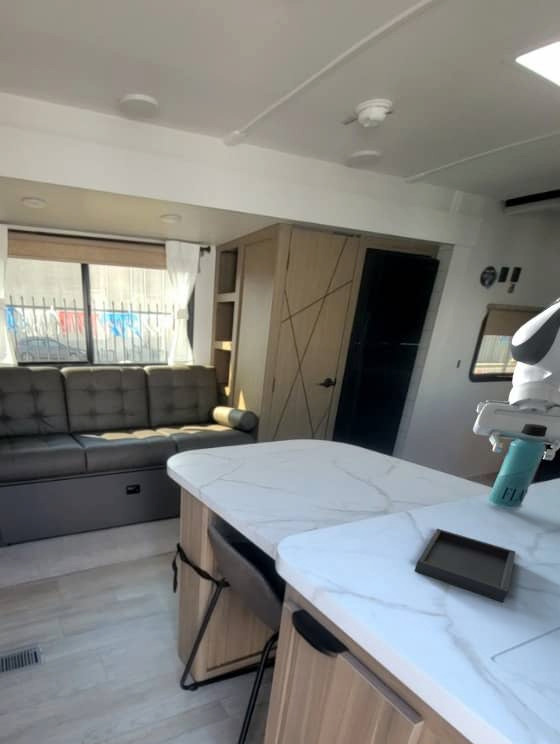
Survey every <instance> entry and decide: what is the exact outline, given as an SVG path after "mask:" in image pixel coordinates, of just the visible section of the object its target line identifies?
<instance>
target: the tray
mask: <svg viewBox="0 0 560 744" xmlns="http://www.w3.org/2000/svg"><path fill="white" fill-rule="evenodd" d="M515 557H516V551H515V550H512V549H509V548H505V547H502V546H500V545H499V546H498V545H495V544H491V543H488V542H484V541H481V540H478V539H475V538H471V537H468V536H464V535H461V534H458V533H454V532H452V531H448V530H445V529H440V528H436V530H435V532H434V533H433V535H432V537H431V538H430V540H429V542H428V543H427V545H426V546H425V548H424V550H423V552H422V553H421V555H420V557H419V558H418V560H417V562H416V565H415V567H414V572H416V573H419V574H422V575H425V576H428V577H430V578H433V579H435V580H439V581H441V582H444V583H447V584H450V585H453V586H455V587H458V588H461V589H464V590H467V591H469V592H472V593H475V594H477V595H481V596H484V597H486V598H489V599H491V600H495V601H498V602H500V603H504V601H505V599H506V597H507V595H508V593H509V589H510V584H511V579H512V574H513V573H512V572H513V567H514V562H515Z"/></svg>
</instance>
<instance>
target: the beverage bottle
mask: <svg viewBox="0 0 560 744" xmlns="http://www.w3.org/2000/svg"><path fill="white" fill-rule="evenodd" d="M546 431H547V427H546V426H542V425H537V424H525V426H524V428H523V430H522V431H521V433H522V434H525V435H530V436H537V437H544V436H545V434H546ZM546 450H547V447H546V444H543V443H542V442H541V441H538V440H534V439H529V438H519V439H516V440H514V439H513V440H512V441H510V444H509V448H508V450H507V452H506V455H505V457H504V460H503V462H502V465H501V467H500V469H499V472H498V473H497V476H496V478H495V480H494V481H495V482H494V483H493V485H492V488H491V490H490V493H489V496H488V500H489V502H491V503H493V504H495V505H498V506H501V507H504V508H505V507H506V508H512V509H516V508H517V509H518V508H520V507H521V505H522V503H523V502H524V500H525V498H526V495H527V494H528V490H529V487H530V486H531V485H532V483H533V478H534V477H535V474H536V473H537V471H538V468H539V467H540V463H541V461H542V459H543V454H544V452H545V451H546ZM523 504H524V503H523Z"/></svg>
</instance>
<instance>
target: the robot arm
mask: <svg viewBox="0 0 560 744" xmlns="http://www.w3.org/2000/svg"><path fill="white" fill-rule="evenodd" d="M510 352H511V357H512V359H513V360H514V361H515V362H516V365H515V367H514V371H513V375H512V380H511V384H512V388H511V389H510V392H509V395H508V400H507V401H505V400H493V399H486V400H483V401H480V402H479V403H478V404H477V407H476V414H477V418H476V420H475V422H474V425H473V428H472V431H473V432H474V434H475V435H479V436H485V437H489V438H488V441H489V442H490V443H491V445H492V446H493V447H492V452H494V453H501V452H502V451H503V449H504V447H503V446H504V442H501V441H500V440H499V438H500V439H507V440H513V441H514V440H516V439H519V438H529V439H534V440H538V441H541V442H542V443H543V444H544V445H550V448H551V449H549V448H546V449H545V451H544V453H543V455H542V459H543V460H546V461H552V460H554V458H555V456H556V451H558V450H559V449H560V391H559V389H560V296H558V297H557V298H556V299H555V300H554V301H552V303H550V304H549V305H548V306H546V307H545V308H544V309H543V310H541V311H540V312H539V313H537V314H536V315H534V316H533V317H531V318H530V319H528V320H527V321H526V322H524V323H523V324H522V325H521V326H520V327H519V328H518V329H517V330H516V331H515V333H514V334H513V336H512V337H511V340H510ZM525 424H537V425H542V426H546V427H547V431H546V434H545V436H544V437H537V436H530V435H525V434H522V433H521V431H522V430H523V428H524V426H525Z"/></svg>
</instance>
